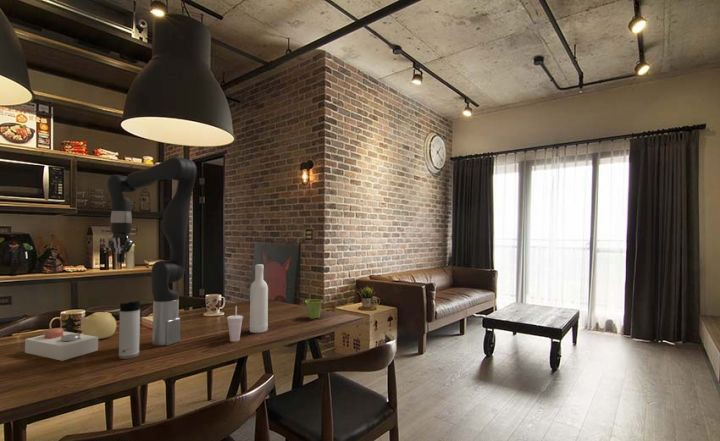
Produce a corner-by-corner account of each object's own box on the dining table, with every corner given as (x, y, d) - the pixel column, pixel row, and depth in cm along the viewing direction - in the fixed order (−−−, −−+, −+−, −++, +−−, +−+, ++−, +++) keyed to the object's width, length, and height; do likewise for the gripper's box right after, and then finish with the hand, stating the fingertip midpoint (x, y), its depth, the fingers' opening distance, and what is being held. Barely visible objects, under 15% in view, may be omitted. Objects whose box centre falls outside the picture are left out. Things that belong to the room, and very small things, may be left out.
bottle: (261, 333, 163) (261, 265, 164) (246, 332, 166) (246, 265, 166) (271, 329, 171) (271, 264, 171) (256, 327, 173) (257, 263, 174)
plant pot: (302, 319, 190) (302, 302, 190) (307, 315, 199) (308, 298, 199) (320, 320, 188) (320, 302, 189) (324, 315, 198) (324, 299, 198)
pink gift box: (66, 344, 142) (66, 329, 142) (49, 348, 136) (50, 332, 136) (57, 342, 144) (57, 327, 144) (40, 347, 138) (40, 331, 138)
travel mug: (124, 360, 129) (125, 303, 129) (115, 357, 132) (116, 301, 133) (143, 355, 134) (144, 300, 135) (133, 352, 138) (134, 298, 138)
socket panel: (97, 350, 140) (98, 337, 140) (62, 360, 128) (62, 346, 129) (61, 343, 148) (61, 330, 148) (24, 352, 136) (25, 339, 137)
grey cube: (83, 350, 138) (83, 334, 138) (66, 355, 133) (67, 338, 133) (73, 348, 140) (74, 333, 140) (57, 353, 135) (57, 337, 135)
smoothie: (246, 339, 155) (246, 305, 155) (235, 343, 149) (235, 308, 149) (234, 337, 157) (234, 304, 158) (223, 341, 152) (223, 307, 152)
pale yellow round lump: (105, 332, 163) (105, 308, 164) (121, 336, 158) (122, 310, 158) (76, 339, 153) (76, 313, 153) (92, 343, 148) (93, 316, 148)
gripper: (140, 222, 159) (139, 262, 158) (119, 222, 164) (118, 261, 163) (123, 221, 152) (123, 263, 151) (101, 222, 157) (101, 262, 156)
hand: (120, 262), depth 157 cm, fingers closed
